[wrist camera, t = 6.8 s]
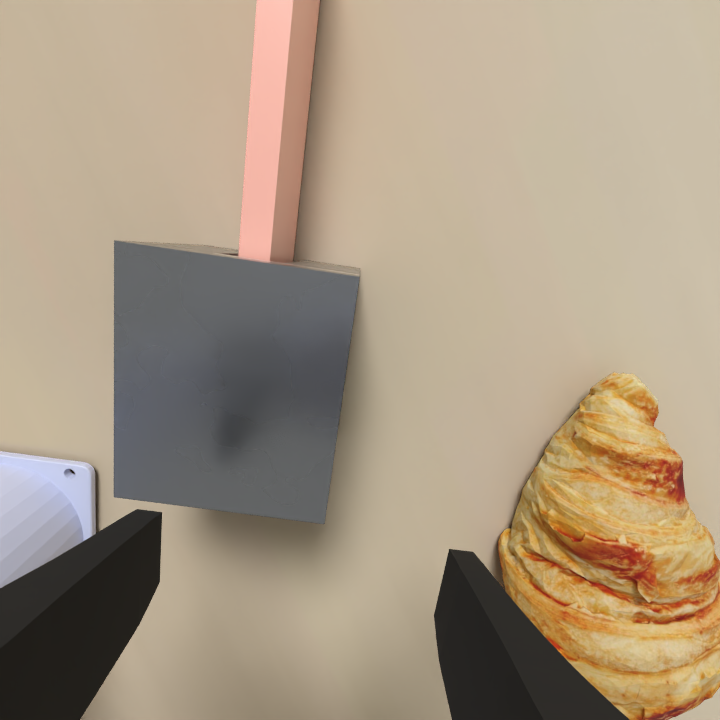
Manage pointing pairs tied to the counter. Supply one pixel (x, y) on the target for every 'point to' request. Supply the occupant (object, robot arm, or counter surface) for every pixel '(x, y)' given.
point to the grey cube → (228, 378)
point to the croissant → (618, 558)
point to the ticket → (277, 127)
